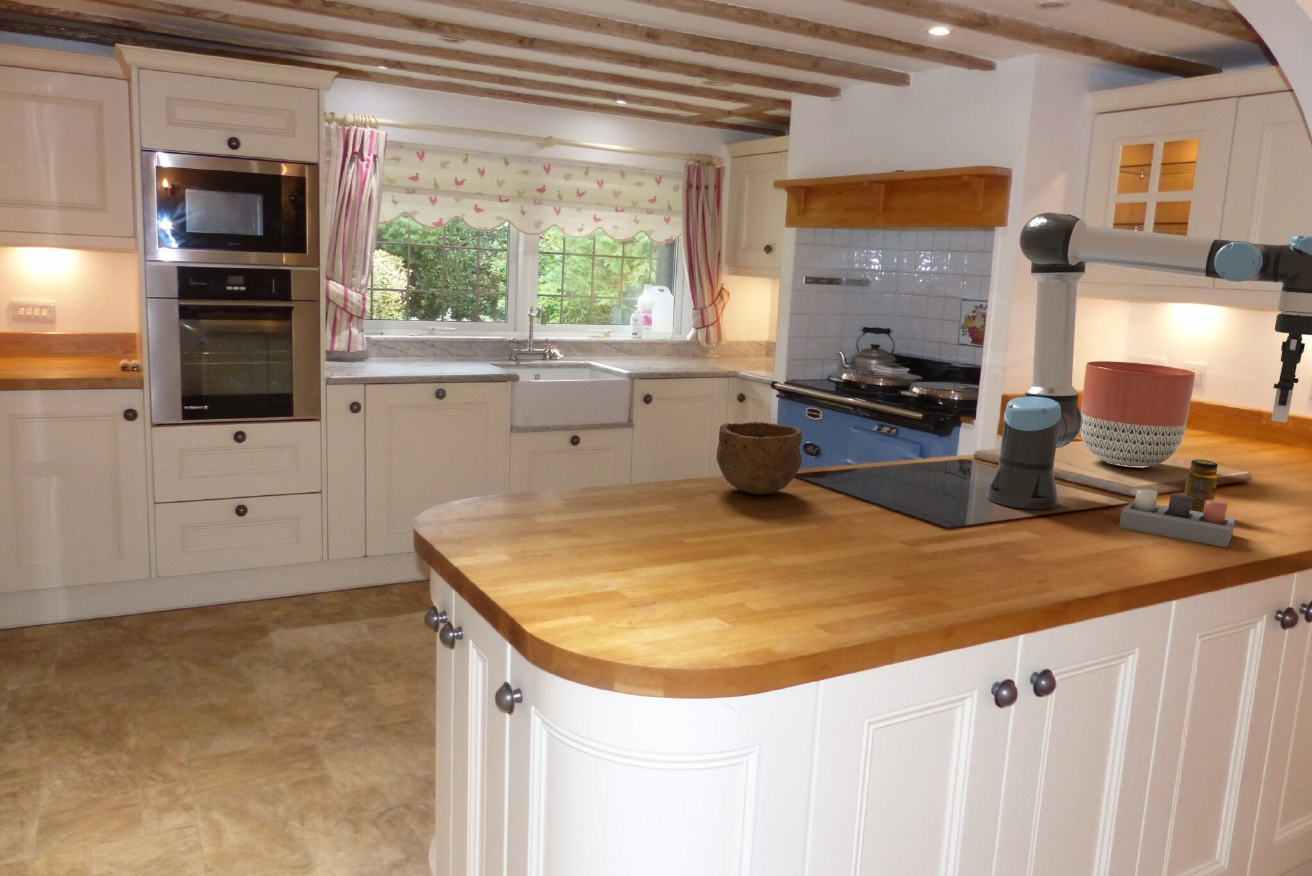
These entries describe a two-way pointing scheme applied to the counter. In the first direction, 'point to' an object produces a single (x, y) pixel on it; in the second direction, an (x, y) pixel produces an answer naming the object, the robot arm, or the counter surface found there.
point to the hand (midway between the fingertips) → (1280, 417)
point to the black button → (1179, 505)
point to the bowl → (759, 455)
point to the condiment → (1201, 483)
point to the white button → (1145, 499)
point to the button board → (1177, 525)
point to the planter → (1134, 411)
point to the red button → (1214, 511)
